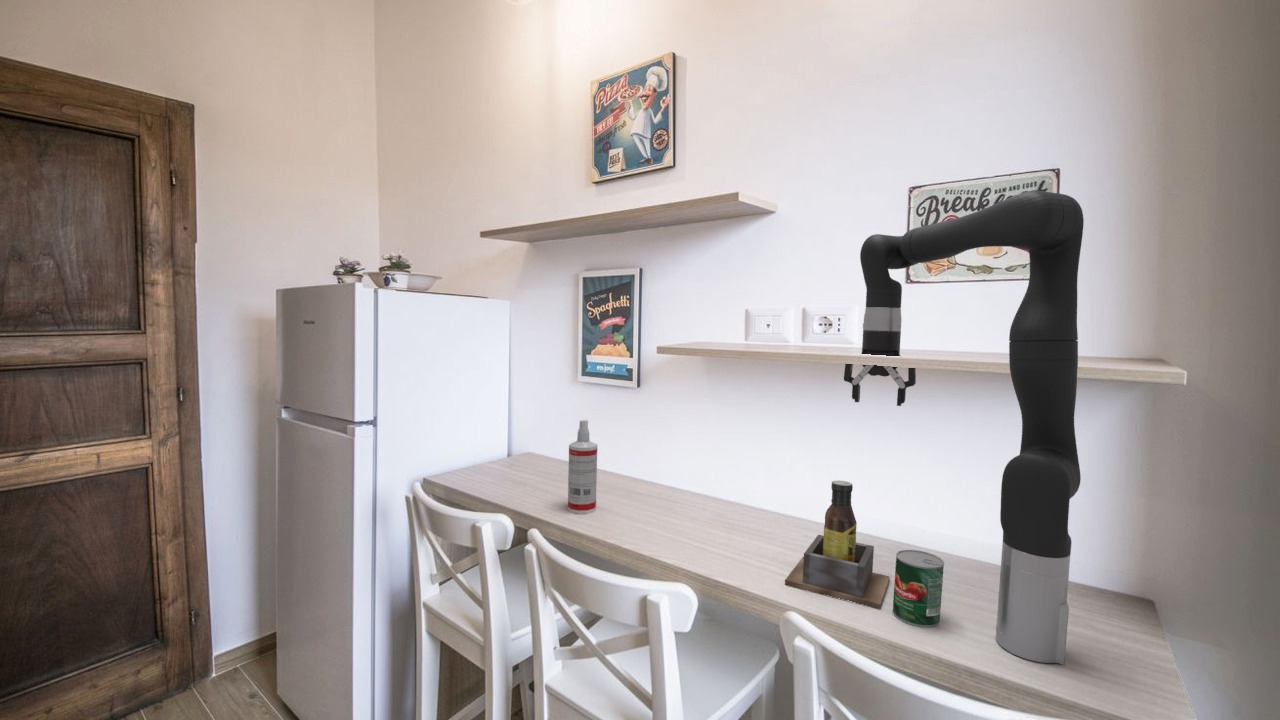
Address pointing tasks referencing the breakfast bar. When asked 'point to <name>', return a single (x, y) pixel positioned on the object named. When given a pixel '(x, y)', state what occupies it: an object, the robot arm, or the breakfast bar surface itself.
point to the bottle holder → (840, 575)
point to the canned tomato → (918, 588)
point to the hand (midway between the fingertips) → (877, 403)
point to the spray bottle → (582, 473)
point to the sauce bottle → (840, 524)
